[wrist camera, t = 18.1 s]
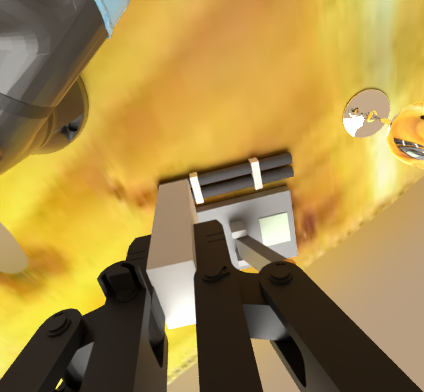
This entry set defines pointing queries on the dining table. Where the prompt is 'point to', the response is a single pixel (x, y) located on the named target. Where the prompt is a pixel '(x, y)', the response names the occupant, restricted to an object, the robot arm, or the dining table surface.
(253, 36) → the dining table surface
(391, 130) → the wineglass
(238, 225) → the breaker panel
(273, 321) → the robot arm
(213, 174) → the dressed cords
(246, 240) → the breaker lever
